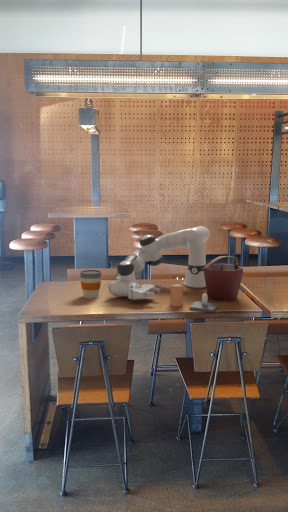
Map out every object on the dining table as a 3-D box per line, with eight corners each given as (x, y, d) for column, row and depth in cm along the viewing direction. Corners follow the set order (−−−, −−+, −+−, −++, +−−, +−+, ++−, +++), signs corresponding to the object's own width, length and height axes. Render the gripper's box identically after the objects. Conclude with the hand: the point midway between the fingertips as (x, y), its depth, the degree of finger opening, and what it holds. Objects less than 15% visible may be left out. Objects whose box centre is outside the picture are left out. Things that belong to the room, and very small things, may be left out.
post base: (196, 303, 255) (196, 289, 254) (218, 306, 250) (219, 292, 249) (189, 309, 243) (190, 295, 242) (213, 312, 238) (213, 297, 237)
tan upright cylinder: (172, 302, 257) (173, 283, 255) (183, 303, 254) (184, 284, 252) (169, 305, 251) (169, 286, 249) (180, 306, 248) (180, 287, 246)
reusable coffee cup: (98, 299, 263) (97, 274, 260) (77, 298, 265) (77, 273, 263) (104, 294, 275) (103, 270, 272) (84, 293, 277) (84, 269, 275)
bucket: (232, 292, 282) (233, 252, 278) (250, 301, 261) (252, 258, 257) (196, 294, 274) (197, 254, 270) (212, 304, 254) (214, 260, 249)
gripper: (141, 291, 271) (163, 293, 266) (127, 299, 252) (150, 302, 247) (141, 281, 270) (163, 283, 265) (127, 288, 251) (150, 290, 246)
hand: (157, 292), depth 256 cm, fingers open, 8 cm apart
